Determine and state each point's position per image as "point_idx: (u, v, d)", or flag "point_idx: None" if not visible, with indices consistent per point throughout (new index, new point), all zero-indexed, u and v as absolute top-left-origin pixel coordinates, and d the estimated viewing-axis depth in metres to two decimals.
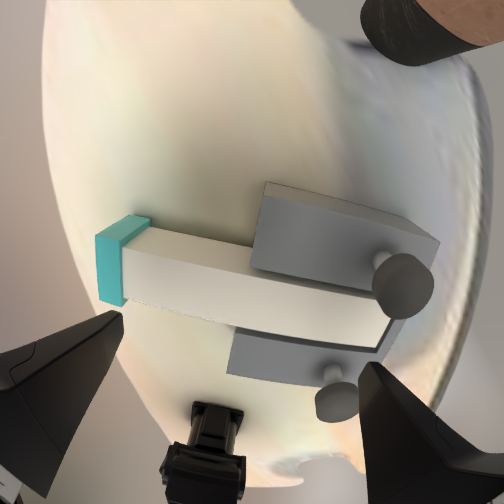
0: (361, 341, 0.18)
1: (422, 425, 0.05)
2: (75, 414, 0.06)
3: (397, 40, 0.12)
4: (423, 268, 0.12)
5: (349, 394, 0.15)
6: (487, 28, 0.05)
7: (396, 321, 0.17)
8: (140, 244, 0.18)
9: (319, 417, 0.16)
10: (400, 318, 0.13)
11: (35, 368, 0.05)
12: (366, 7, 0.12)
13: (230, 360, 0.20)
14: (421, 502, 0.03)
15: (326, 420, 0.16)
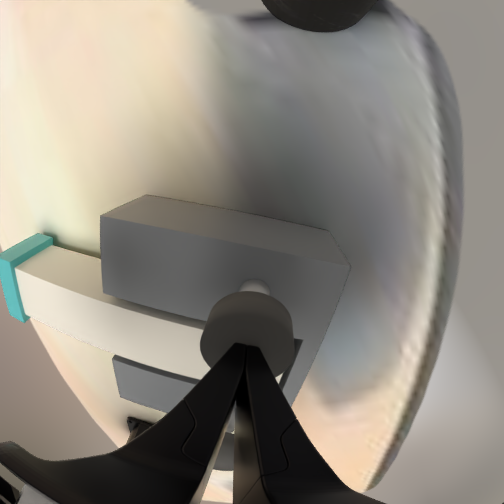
0: None
1: (262, 425, 0.05)
2: None
3: None
4: (264, 319, 0.08)
5: (222, 447, 0.12)
6: None
7: (296, 367, 0.14)
8: (30, 264, 0.15)
9: None
10: None
11: (205, 435, 0.05)
12: None
13: (118, 385, 0.16)
14: None
15: None
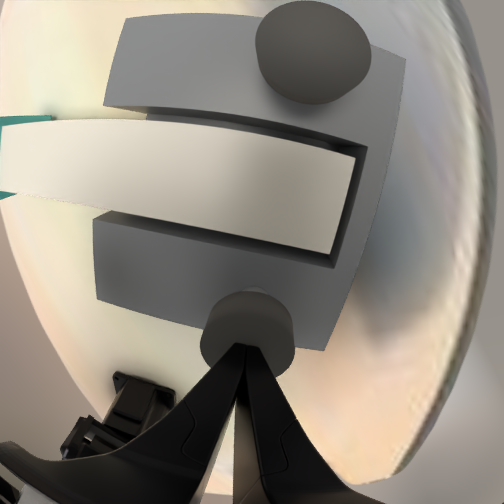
0: (298, 237, 0.11)
1: (262, 425, 0.05)
2: None
3: None
4: (331, 8, 0.05)
5: (258, 310, 0.08)
6: None
7: (361, 197, 0.10)
8: None
9: (211, 364, 0.09)
10: (316, 93, 0.06)
11: (205, 435, 0.05)
12: None
13: (96, 273, 0.12)
14: None
15: None
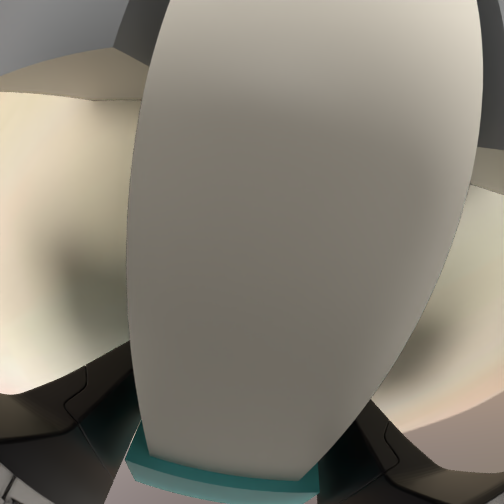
0: None
1: (367, 430, 0.05)
2: (127, 437, 0.06)
3: None
4: None
5: None
6: None
7: None
8: None
9: None
10: None
11: (92, 398, 0.05)
12: None
13: None
14: None
15: None
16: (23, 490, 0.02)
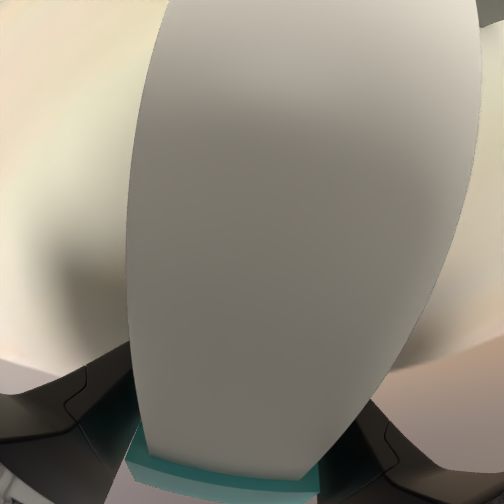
0: None
1: (367, 430, 0.05)
2: (127, 437, 0.06)
3: None
4: None
5: None
6: None
7: None
8: None
9: None
10: None
11: (93, 398, 0.05)
12: None
13: None
14: None
15: None
16: (23, 490, 0.02)
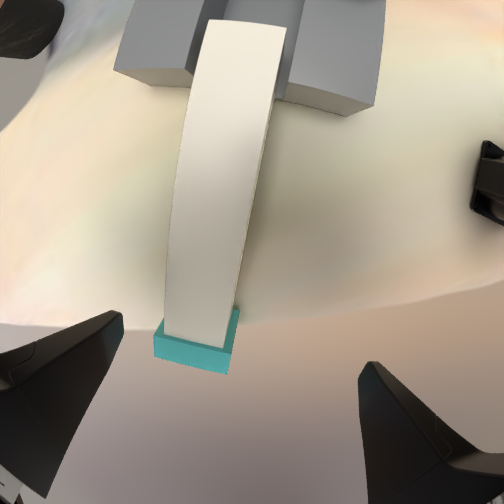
0: (273, 48, 0.11)
1: (422, 425, 0.05)
2: (75, 414, 0.06)
3: (32, 27, 0.11)
4: None
5: None
6: None
7: None
8: None
9: None
10: None
11: (35, 368, 0.05)
12: (19, 55, 0.13)
13: (344, 94, 0.11)
14: (421, 502, 0.03)
15: None
16: None
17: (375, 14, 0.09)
